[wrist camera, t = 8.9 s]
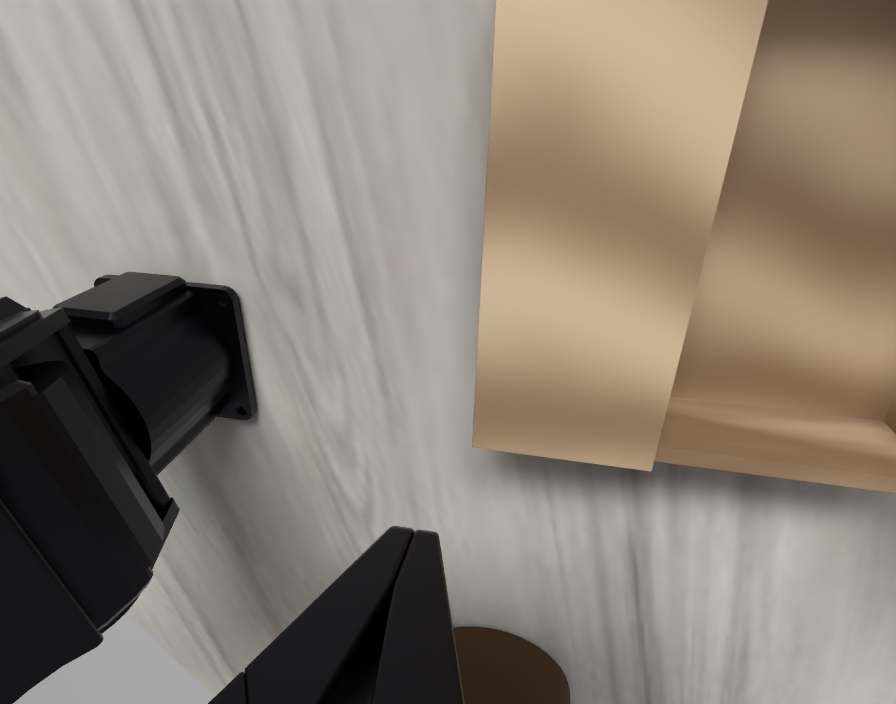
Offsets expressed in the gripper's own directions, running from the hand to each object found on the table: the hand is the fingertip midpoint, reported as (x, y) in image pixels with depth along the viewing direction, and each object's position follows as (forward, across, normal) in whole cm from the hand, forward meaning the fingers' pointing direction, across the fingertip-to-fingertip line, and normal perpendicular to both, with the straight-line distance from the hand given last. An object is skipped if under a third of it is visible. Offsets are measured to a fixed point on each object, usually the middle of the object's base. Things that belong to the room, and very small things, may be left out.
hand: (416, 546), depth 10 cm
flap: (+9, -3, -4) cm, 10 cm away
